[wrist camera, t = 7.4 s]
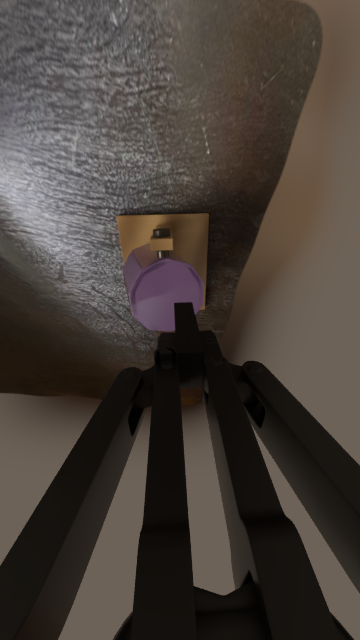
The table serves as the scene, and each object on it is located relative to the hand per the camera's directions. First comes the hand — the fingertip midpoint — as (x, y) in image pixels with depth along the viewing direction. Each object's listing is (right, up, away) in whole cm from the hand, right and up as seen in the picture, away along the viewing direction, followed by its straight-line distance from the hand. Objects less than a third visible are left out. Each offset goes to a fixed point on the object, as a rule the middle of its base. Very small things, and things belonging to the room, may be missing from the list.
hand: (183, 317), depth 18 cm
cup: (-1, +2, +3) cm, 4 cm away
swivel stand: (-2, +8, +14) cm, 16 cm away
